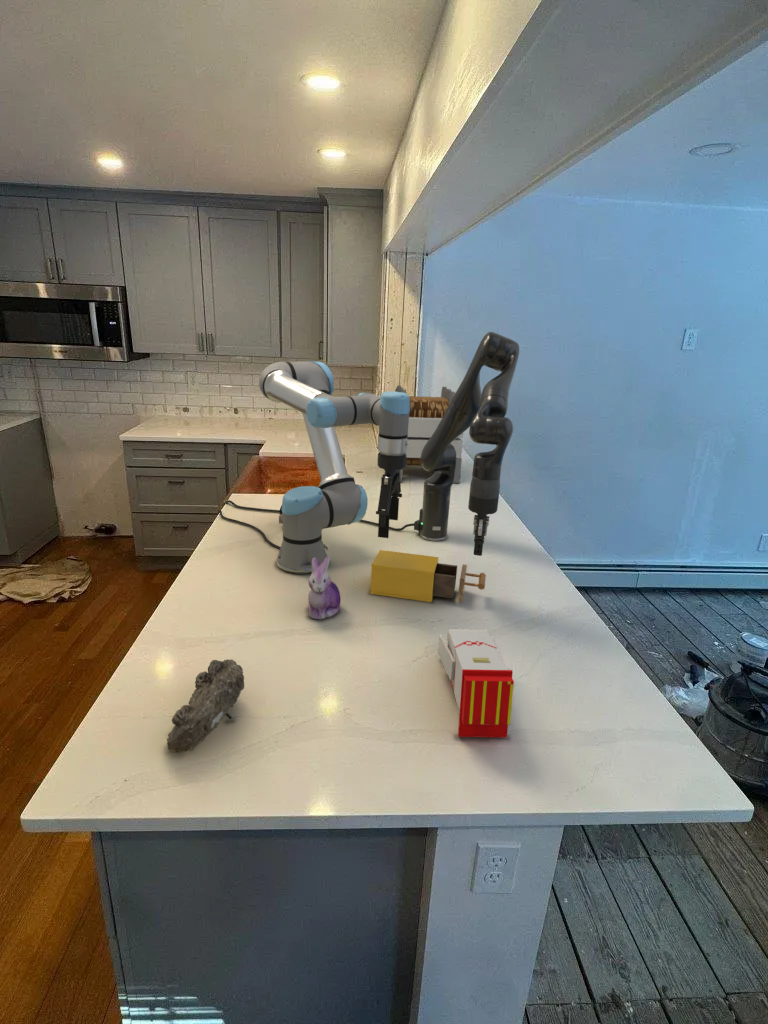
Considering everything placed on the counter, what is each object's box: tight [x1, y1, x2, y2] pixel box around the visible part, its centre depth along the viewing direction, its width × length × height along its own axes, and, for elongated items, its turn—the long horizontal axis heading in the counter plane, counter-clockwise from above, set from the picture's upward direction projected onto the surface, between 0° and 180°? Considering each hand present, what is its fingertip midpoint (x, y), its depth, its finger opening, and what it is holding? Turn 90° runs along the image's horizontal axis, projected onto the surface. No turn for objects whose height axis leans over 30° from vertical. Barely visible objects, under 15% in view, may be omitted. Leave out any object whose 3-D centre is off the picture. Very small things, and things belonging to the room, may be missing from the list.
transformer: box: [394, 384, 464, 484], centre depth 268 cm, size 34×33×41 cm
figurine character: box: [278, 505, 283, 525], centre depth 204 cm, size 7×8×15 cm
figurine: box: [307, 555, 342, 620], centre depth 144 cm, size 9×10×15 cm
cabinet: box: [370, 549, 440, 603], centre depth 159 cm, size 17×10×9 cm, turn 78°
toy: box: [437, 628, 515, 738], centre depth 117 cm, size 12×13×30 cm
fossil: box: [166, 658, 245, 754], centre depth 106 cm, size 22×10×15 cm
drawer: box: [432, 562, 487, 603], centre depth 157 cm, size 21×9×7 cm, turn 78°
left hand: (388, 528), depth 155 cm, fingers open, 13 cm apart
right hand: (477, 554), depth 152 cm, fingers closed
